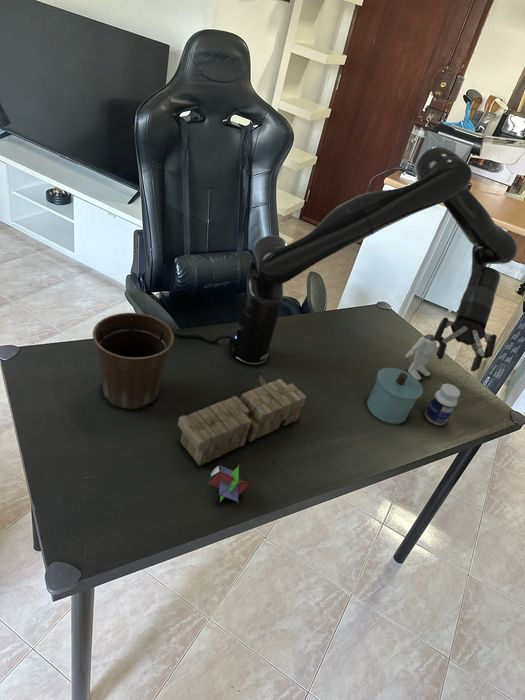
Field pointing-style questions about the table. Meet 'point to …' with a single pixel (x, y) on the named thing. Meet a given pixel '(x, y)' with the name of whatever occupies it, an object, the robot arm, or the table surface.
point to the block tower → (239, 420)
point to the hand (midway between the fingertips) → (456, 364)
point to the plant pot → (132, 357)
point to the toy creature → (421, 355)
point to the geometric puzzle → (228, 483)
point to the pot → (394, 395)
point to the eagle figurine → (262, 377)
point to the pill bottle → (442, 404)
